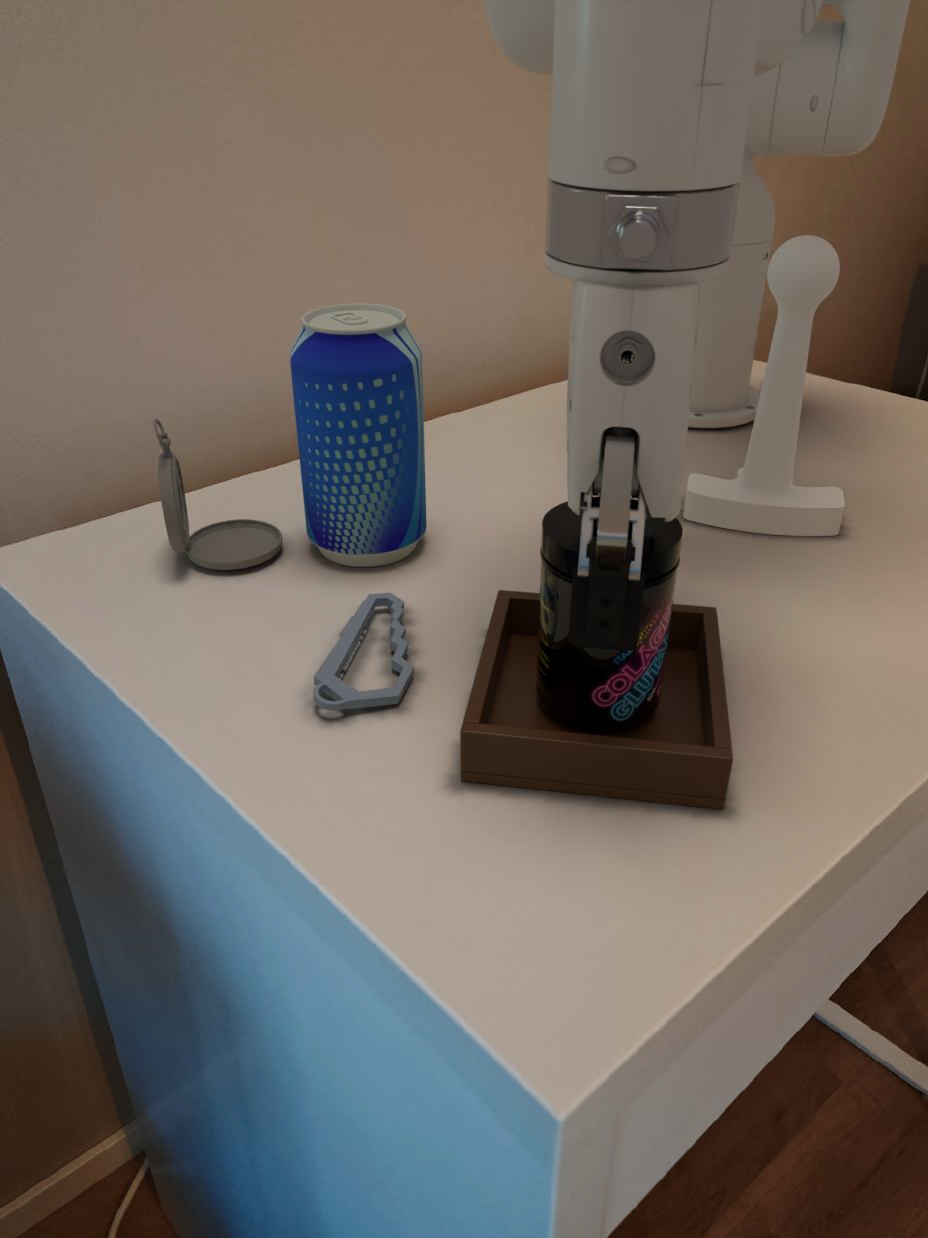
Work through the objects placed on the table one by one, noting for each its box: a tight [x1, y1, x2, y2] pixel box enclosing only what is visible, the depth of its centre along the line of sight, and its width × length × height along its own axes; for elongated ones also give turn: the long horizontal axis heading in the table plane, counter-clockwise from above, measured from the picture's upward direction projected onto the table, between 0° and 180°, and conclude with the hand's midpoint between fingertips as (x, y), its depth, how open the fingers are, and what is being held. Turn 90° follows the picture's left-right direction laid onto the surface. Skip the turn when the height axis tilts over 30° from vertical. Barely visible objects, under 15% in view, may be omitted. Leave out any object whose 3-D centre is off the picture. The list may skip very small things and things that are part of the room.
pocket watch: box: [153, 418, 283, 571], centre depth 65 cm, size 8×8×10 cm
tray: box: [459, 589, 734, 810], centre depth 51 cm, size 14×13×3 cm
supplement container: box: [536, 495, 684, 734], centre depth 49 cm, size 7×7×10 cm
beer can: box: [289, 302, 427, 568], centre depth 64 cm, size 8×8×16 cm
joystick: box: [682, 234, 846, 537], centre depth 68 cm, size 11×8×20 cm
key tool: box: [312, 592, 415, 712], centre depth 56 cm, size 12×1×5 cm
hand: (605, 602), depth 49 cm, fingers closed on supplement container, 6 cm apart
